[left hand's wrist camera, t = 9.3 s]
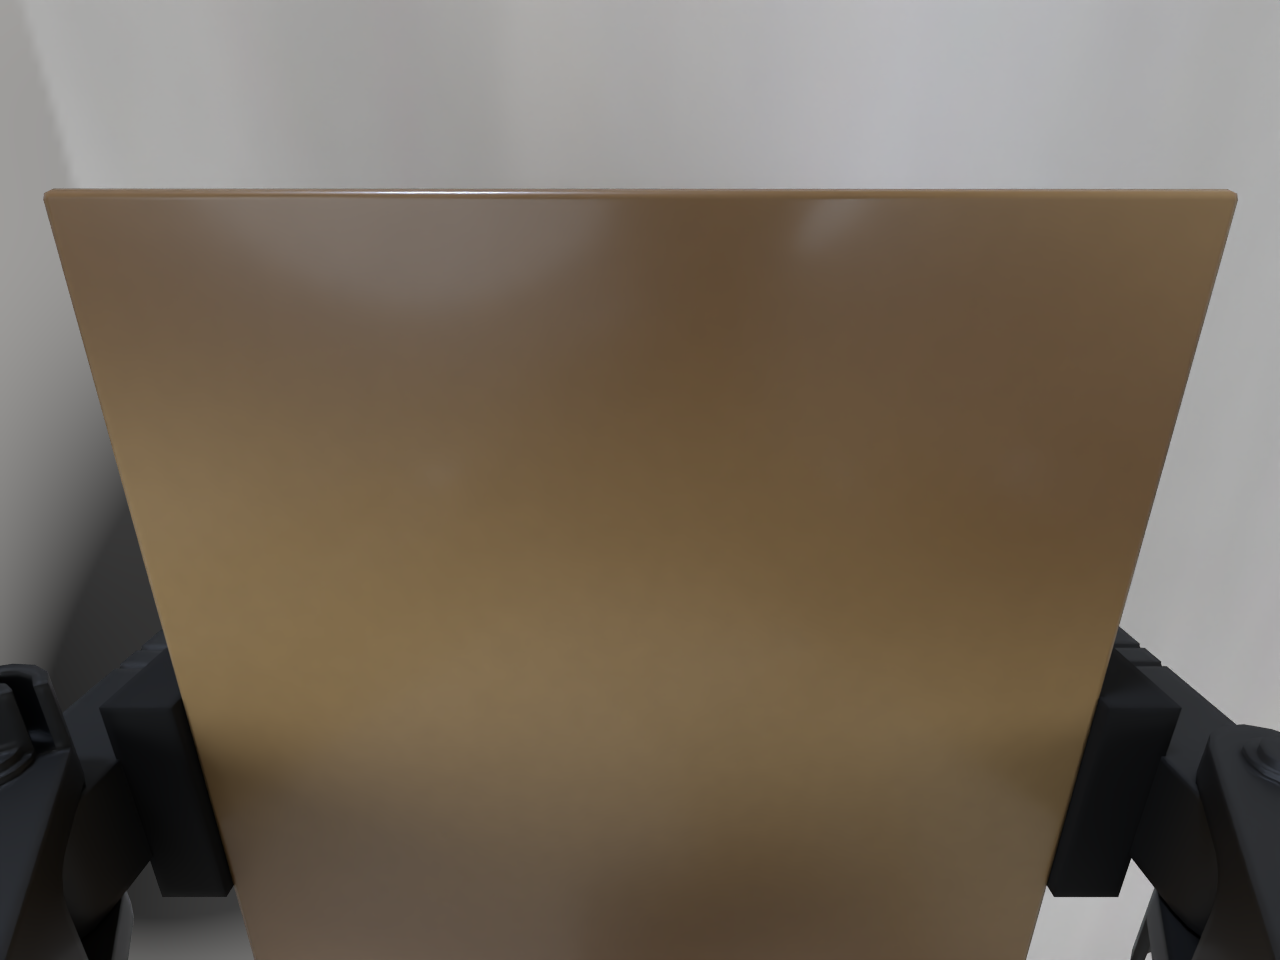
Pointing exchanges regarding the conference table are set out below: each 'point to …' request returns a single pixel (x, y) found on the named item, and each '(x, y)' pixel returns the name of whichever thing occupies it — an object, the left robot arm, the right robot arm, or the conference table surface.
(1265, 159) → the conference table surface
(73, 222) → the thick board
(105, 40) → the conference table surface
